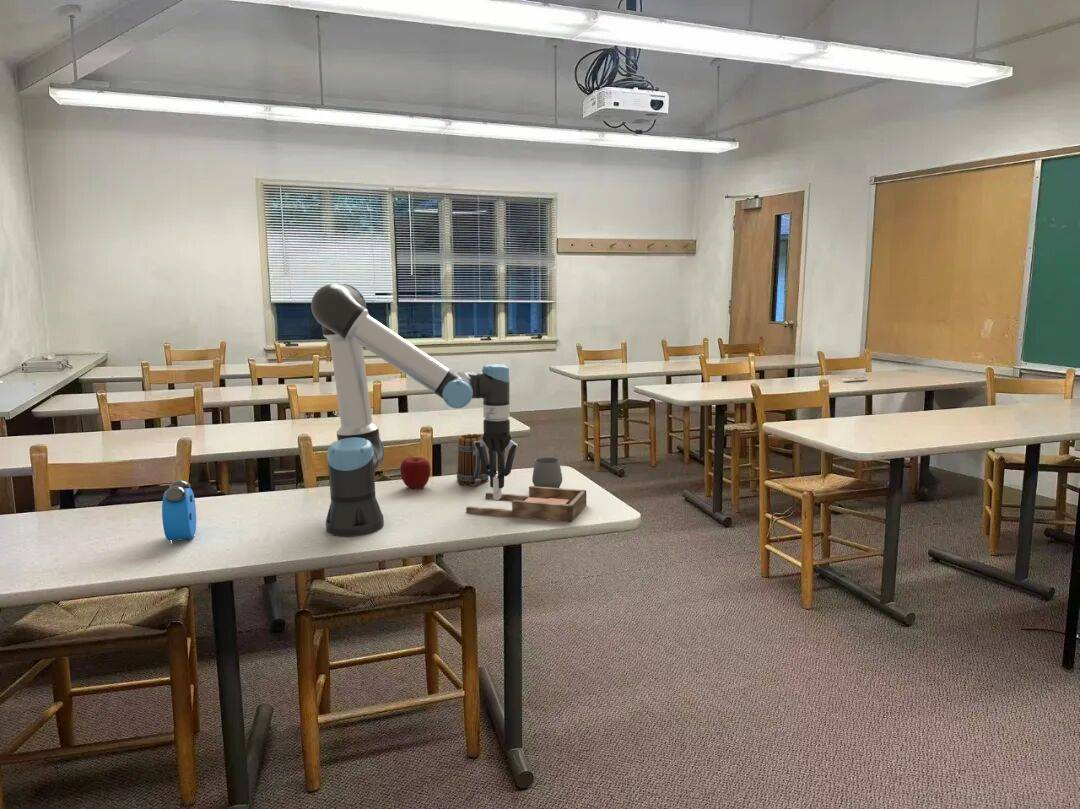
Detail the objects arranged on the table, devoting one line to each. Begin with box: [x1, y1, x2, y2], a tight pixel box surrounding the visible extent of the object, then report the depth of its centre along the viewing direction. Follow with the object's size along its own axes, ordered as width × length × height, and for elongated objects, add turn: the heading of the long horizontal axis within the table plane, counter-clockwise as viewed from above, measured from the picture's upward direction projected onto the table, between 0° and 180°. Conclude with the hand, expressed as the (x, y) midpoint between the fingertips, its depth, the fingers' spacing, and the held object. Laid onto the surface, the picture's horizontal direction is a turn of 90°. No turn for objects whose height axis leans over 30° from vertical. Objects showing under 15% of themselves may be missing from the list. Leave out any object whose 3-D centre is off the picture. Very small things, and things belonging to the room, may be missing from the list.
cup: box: [531, 456, 563, 488], centre depth 221 cm, size 10×9×10 cm
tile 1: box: [525, 497, 548, 502], centre depth 203 cm, size 6×6×3 cm
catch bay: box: [465, 485, 587, 523], centre depth 204 cm, size 31×15×4 cm, turn 72°
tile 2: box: [545, 498, 569, 504], centre depth 202 cm, size 6×6×3 cm
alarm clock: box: [161, 479, 197, 542], centre depth 184 cm, size 13×6×15 cm, turn 18°
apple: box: [399, 456, 431, 490], centre depth 227 cm, size 10×10×10 cm
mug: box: [456, 433, 490, 486], centre depth 231 cm, size 16×11×15 cm
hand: (497, 498), depth 207 cm, fingers closed
